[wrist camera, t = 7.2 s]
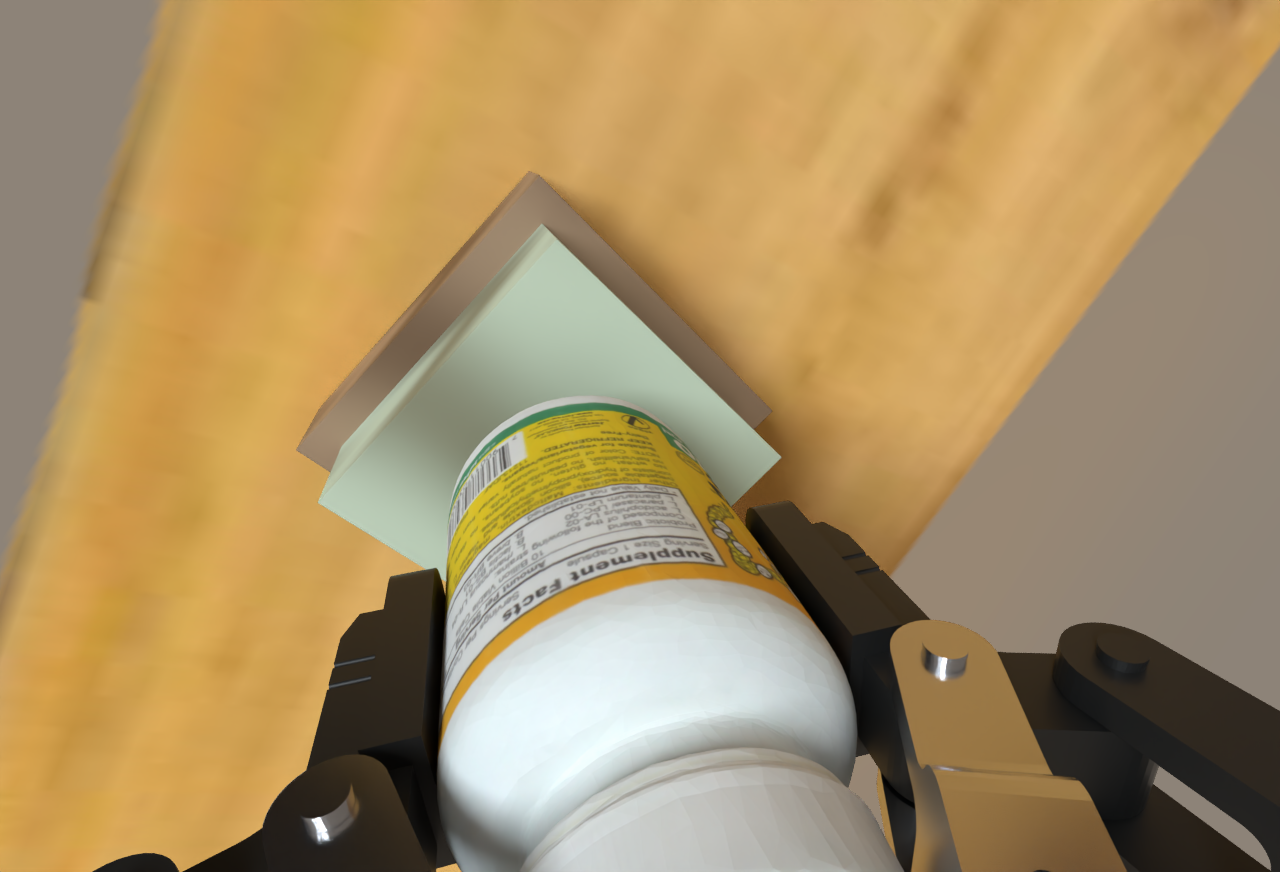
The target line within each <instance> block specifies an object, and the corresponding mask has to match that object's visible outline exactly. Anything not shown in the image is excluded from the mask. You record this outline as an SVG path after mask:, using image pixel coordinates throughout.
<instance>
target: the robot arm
mask: <svg viewBox="0 0 1280 872" xmlns="http://www.w3.org/2000/svg"><path fill="white" fill-rule="evenodd" d="M746 528H747V529H748V530H749V532H750V533H751V535H752V536H753V537H754V539H755V540H756V541H757V543H758V544H759V545H760V547H761V548H762V550H763V551H764V552H765V554H766V555H767V557H768V558H769V559H770V560H771V562H772V563H773V564H774V566H775V567H776V569H777V570H778V572H779V573H780V574H781V575H782V577H783V578H784V580H785V582H786V583H787V584H788V586H789V587H790V589H791V590H792V592H793V593H794V595H795V596H796V597H797V599H798V600H799V601H800V603H801V604H802V606H803V607H804V609H805V610H806V611H807V613H808V614H809V616H810V617H811V619H812V620H813V621H814V623H815V624H816V626H817V627H818V628H819V630H820V631H821V632H822V634H823V635H824V637H825V638H826V640H827V641H828V643H829V644H830V646H831V647H832V649H833V651H834V652H835V654H836V656H837V658H838V659H839V661H840V663H841V665H842V667H843V670H844V672H845V674H846V677H847V679H848V682H849V685H850V688H851V691H852V695H853V699H854V704H855V710H856V717H857V748H856V757H858V756H862V755H866V754H870V755H871V757H872V758H873V760H874V761H875V763H876V765H877V766H878V775H877V792H878V798H879V804H880V809H881V815H882V821H883V827H884V832H885V838H886V840H887V842H888V843H889V845H890V847H891V849H892V851H893V853H894V854H895V856H896V858H897V860H898V861H899V863H900V865H901V867H902V869H903V870H904V872H1280V711H1279V710H1277V709H1275V708H1273V707H1272V706H1270V705H1268V704H1266V703H1265V702H1263V701H1261V700H1259V699H1258V698H1256V697H1254V696H1252V695H1251V694H1249V693H1247V692H1245V691H1243V690H1242V689H1240V688H1238V687H1237V686H1235V685H1233V684H1231V683H1229V682H1228V681H1225V680H1224V679H1222V678H1220V677H1219V676H1217V675H1215V674H1213V673H1212V672H1210V671H1208V670H1207V669H1205V668H1203V667H1201V666H1199V665H1198V664H1196V663H1194V662H1192V661H1191V660H1189V659H1187V658H1185V657H1184V656H1182V655H1180V654H1178V653H1177V652H1175V651H1173V650H1171V649H1170V648H1168V647H1166V646H1164V645H1163V644H1161V643H1159V642H1157V641H1156V640H1154V639H1152V638H1150V637H1148V636H1146V635H1144V634H1141V633H1139V632H1136V631H1134V630H1131V629H1128V628H1125V627H1121V626H1117V625H1113V624H1106V623H1082V624H1077V625H1074V626H1071V627H1069V628H1068V629H1066V630H1065V631H1064V632H1063V633H1062V634H1061V637H1060V639H1059V643H1058V648H1057V652H1056V654H1044V653H1043V654H1042V653H1006V652H996V650H995V649H994V648H993V646H992V645H991V644H990V643H989V642H988V641H987V640H985V639H984V638H983V637H981V636H980V635H979V634H977V633H975V632H973V631H971V630H970V629H968V628H965V627H963V626H960V625H957V624H954V623H950V622H946V621H938V620H930V619H929V618H928V617H927V616H926V615H925V614H924V612H923V611H922V610H921V609H920V608H919V607H918V606H917V605H916V604H915V603H914V602H913V601H912V600H911V599H910V598H909V597H908V596H907V595H906V594H905V593H904V592H903V591H902V590H901V589H900V588H899V587H898V586H897V585H896V584H895V583H894V581H893V580H892V579H891V578H890V577H889V576H888V575H887V574H886V573H885V572H884V571H883V570H881V571H880V569H879V566H878V565H877V564H876V563H875V562H874V561H873V560H872V559H871V558H870V557H869V556H866V555H865V552H864V550H863V549H862V548H861V547H860V546H859V545H858V544H857V543H856V542H855V541H854V540H853V539H852V538H851V537H850V536H849V535H848V534H846V533H844V532H842V531H840V530H838V529H836V528H834V527H832V526H830V525H828V524H826V523H824V522H820V523H815V524H811V523H810V522H809V521H808V519H807V518H806V517H805V516H804V515H803V514H802V513H801V512H800V511H799V509H798V508H797V507H796V506H795V505H794V504H793V503H792V502H790V501H783V502H778V503H773V504H768V505H763V506H757V507H752V508H749V509H748V510H747V513H746ZM444 618H445V592H444V588H443V584H442V580H441V576H440V573H439V571H438V569H437V568H432V569H427V570H421V571H416V572H411V573H406V574H401V575H396V576H391V577H390V579H389V582H388V588H387V593H386V599H385V604H384V609H382V610H377V611H372V612H367V613H362V614H360V615H359V616H358V617H357V618H356V620H355V621H354V622H353V623H352V625H351V626H350V627H349V628H348V630H347V631H346V632H345V633H344V635H343V636H342V637H341V639H340V643H339V646H338V650H337V654H336V658H335V662H334V665H335V668H333V670H332V674H331V677H330V681H329V690H327V693H326V697H325V701H324V704H323V708H322V712H321V716H320V720H319V724H318V728H317V731H316V735H315V739H314V743H313V747H312V751H311V755H310V758H309V762H308V766H307V770H306V771H305V772H303V773H302V774H301V775H299V776H298V777H296V778H295V779H294V780H293V781H292V782H291V783H290V784H288V785H287V786H286V787H285V788H284V790H283V791H282V792H281V793H280V794H279V795H278V796H277V798H276V799H275V801H274V802H273V803H272V805H271V807H270V809H269V810H268V812H267V814H266V817H265V820H264V823H263V828H262V829H260V830H259V831H257V832H256V833H254V834H253V835H251V836H250V837H248V838H246V839H245V840H243V841H241V842H239V843H238V844H236V845H234V846H232V847H230V848H228V849H226V850H224V851H222V852H220V853H218V854H216V855H214V856H212V857H210V858H208V859H206V860H205V861H203V862H201V863H199V864H197V865H195V866H193V867H191V868H189V869H187V870H185V871H183V872H436V868H440V867H444V866H447V865H451V864H455V863H456V861H455V859H454V857H453V855H452V853H451V851H450V849H449V846H448V844H447V842H446V838H445V835H444V832H443V829H442V825H441V820H440V814H439V807H438V801H437V751H438V727H439V708H440V688H441V671H442V655H443V634H444ZM1159 766H1160V767H1162V768H1163V769H1165V770H1166V771H1167V772H1169V773H1170V774H1171V775H1173V776H1174V777H1176V778H1177V779H1178V780H1180V781H1181V782H1183V783H1184V784H1185V785H1187V786H1188V787H1190V788H1191V789H1192V790H1194V791H1195V792H1197V793H1198V794H1200V795H1201V796H1202V797H1204V798H1205V799H1206V800H1208V801H1209V802H1211V803H1212V804H1214V805H1215V806H1217V807H1218V808H1219V809H1220V810H1222V811H1223V812H1225V813H1226V814H1228V815H1229V816H1230V817H1232V818H1233V819H1235V820H1236V821H1237V822H1239V823H1240V824H1242V825H1243V826H1244V827H1245V828H1246V829H1248V830H1249V831H1250V832H1251V833H1252V834H1253V835H1254V836H1255V837H1256V838H1257V840H1258V841H1259V842H1260V843H1261V845H1262V846H1263V848H1264V849H1265V851H1266V853H1267V855H1268V857H1269V859H1270V863H1271V871H1270V870H1269V869H1267V868H1266V867H1264V866H1263V865H1262V864H1260V863H1259V862H1258V861H1256V860H1255V859H1254V858H1252V857H1251V856H1249V855H1248V854H1247V853H1245V852H1244V851H1243V850H1241V849H1240V848H1239V847H1237V846H1236V845H1235V844H1233V843H1232V842H1231V841H1229V840H1228V839H1227V838H1225V837H1224V836H1222V835H1221V834H1220V833H1218V832H1217V831H1216V830H1214V829H1213V828H1212V827H1210V826H1209V825H1207V824H1206V823H1205V822H1203V821H1202V820H1201V819H1199V818H1198V817H1197V816H1195V815H1194V814H1193V813H1191V812H1190V811H1189V810H1187V809H1186V808H1185V807H1183V806H1182V805H1180V804H1179V803H1178V802H1177V801H1175V800H1174V799H1173V798H1171V797H1170V796H1168V795H1167V794H1166V793H1164V792H1163V791H1162V790H1160V789H1159V788H1158V787H1156V786H1155V785H1154V784H1153V782H1154V779H1155V776H1156V773H1157V770H1158V768H1159ZM93 872H179V870H178V868H177V867H176V865H175V864H174V863H173V862H172V861H171V859H169V858H167V857H165V856H163V855H160V854H155V853H142V854H136V855H131V856H128V857H124V858H121V859H118V860H116V861H113V862H111V863H108V864H106V865H104V866H102V867H100V868H98V869H97V870H95V871H93Z"/></svg>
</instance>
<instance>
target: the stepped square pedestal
mask: <svg viewBox="0 0 1280 872" xmlns="http://www.w3.org/2000/svg"><path fill="white" fill-rule="evenodd" d="M589 395H593V396H607V397H612V398H617V399H621V400H624V401H627V402H630V403H632V404H634V405H637V406H639V407H641V408H643V409H645V410H647V411H648V412H650V413H651V414H653V415H654V416H656V417H657V418H658V419H660V420H661V421H662V422H663V423H665V424H666V425H667V426H668V427H669V428H670V429H671V430H672V431H673V432H674V433H675V434H676V435H678V436H679V437H680V438H681V439H682V440H683V441H684V443H685V444H686V445H687V447H688V448H689V449H690V451H691V452H692V453H693V454H694V455H695V457H696V458H697V459H698V461H699V462H700V463H701V465H702V466H703V468H704V469H705V471H706V472H707V473H708V474H709V476H710V477H711V479H712V480H713V482H714V483H715V485H716V486H717V487H718V489H719V490H720V492H721V493H722V495H723V496H724V498H725V499H726V500H727V502H728V503H729V505H730V506H732V505H733V504H734V503H735V502H736V501H738V500H739V499H740V498H741V497H742V496H743V495H744V494H745V493H746V492H747V491H748V490H749V489H750V488H751V487H752V486H753V485H754V484H755V483H756V482H757V481H758V480H759V479H760V478H761V477H762V476H763V475H764V474H765V473H766V472H767V471H768V470H769V469H770V468H771V467H772V466H773V465H774V464H775V463H776V462H777V461H778V460H779V459H780V458H781V456H780V455H779V454H778V453H777V452H776V451H775V450H774V449H773V448H772V447H771V446H770V445H769V444H768V443H767V442H766V441H765V440H764V439H763V438H762V437H761V436H760V435H759V434H758V433H757V432H756V431H755V430H754V429H755V428H756V427H757V426H758V425H759V424H760V423H761V422H762V421H763V420H764V419H765V418H766V417H767V416H768V415H769V414H770V413H771V412H772V410H771V409H770V408H769V407H768V406H767V405H766V404H765V403H764V402H763V401H762V400H761V399H760V398H759V397H758V396H757V395H756V394H755V393H754V392H753V391H752V390H751V389H750V388H749V387H748V386H747V385H746V384H745V383H744V382H743V381H742V380H741V379H740V378H739V377H738V376H737V375H736V374H735V373H734V372H733V371H732V370H731V369H730V368H729V366H728V365H727V364H726V363H725V362H724V361H723V360H722V359H721V358H720V357H719V356H718V355H717V354H716V353H715V352H714V351H713V350H712V349H711V348H710V347H709V346H708V345H707V344H706V343H705V342H704V341H703V340H702V339H701V338H700V337H699V336H698V335H697V334H696V333H695V332H694V331H693V330H692V329H691V328H690V327H689V326H688V325H687V324H686V323H685V322H684V321H683V320H682V319H681V318H680V317H679V316H678V315H677V314H676V313H675V312H674V311H673V310H672V309H671V308H670V307H669V306H668V305H667V304H666V303H665V302H664V301H663V300H662V299H661V298H660V297H659V296H658V295H657V294H656V293H655V292H654V291H653V290H652V289H651V288H650V287H649V286H648V285H647V284H646V283H645V282H644V281H643V280H642V279H641V278H640V277H639V276H638V275H637V274H636V273H635V271H634V270H633V269H632V268H631V267H630V266H629V265H628V264H627V263H626V262H625V261H624V260H623V259H622V258H621V257H620V256H619V255H618V254H617V253H616V252H615V251H614V250H613V249H612V248H611V247H610V246H609V245H608V244H607V243H606V242H605V241H604V240H603V239H602V238H601V237H600V236H599V235H598V234H597V233H596V232H595V231H594V230H593V229H592V228H591V227H590V226H589V225H588V224H587V223H586V222H585V221H584V220H583V219H582V218H581V217H580V216H579V215H578V214H577V213H576V212H575V211H574V210H573V209H572V208H571V207H570V206H569V205H568V204H567V203H566V202H565V201H564V200H563V199H562V198H561V197H560V196H559V195H558V194H557V193H556V192H555V191H554V190H553V189H552V188H551V187H550V186H549V185H548V184H547V183H546V182H545V181H544V180H543V179H542V178H541V177H540V176H539V175H537V174H535V173H532V172H530V171H529V172H528V173H527V174H526V175H525V176H524V178H523V179H522V180H521V181H520V182H519V183H518V184H517V185H516V187H515V188H514V189H513V190H512V191H511V192H510V193H509V195H508V196H507V197H506V198H505V199H504V200H503V201H502V202H501V204H500V205H499V206H498V207H497V208H496V209H495V210H494V211H493V213H492V214H491V215H490V216H489V217H488V218H487V219H486V221H485V222H484V223H483V224H482V225H481V226H480V227H479V228H478V230H477V231H476V232H475V233H474V234H473V235H472V236H471V238H470V239H469V240H468V241H467V242H466V243H465V244H464V245H463V247H462V248H461V249H460V250H459V251H458V252H457V253H456V254H455V256H454V257H453V258H452V259H451V260H450V261H449V262H448V264H447V265H446V266H445V267H444V268H443V269H442V270H441V271H440V273H439V274H438V275H437V276H436V277H435V278H434V279H433V281H432V282H431V283H430V284H429V285H428V286H427V287H426V288H425V290H424V291H423V292H422V293H421V294H420V295H419V296H418V297H417V299H416V300H415V301H414V302H413V303H412V304H411V305H410V307H409V308H408V309H407V310H406V311H405V312H404V313H403V314H402V316H401V317H400V318H399V319H398V320H397V321H396V322H395V324H394V325H393V326H392V327H391V328H390V329H389V330H388V331H387V333H386V334H385V335H384V336H383V337H382V338H381V339H380V340H379V342H378V343H377V344H376V345H375V346H374V347H373V348H372V350H371V351H370V352H369V353H368V354H367V355H366V356H365V357H364V359H363V360H362V361H361V362H360V363H359V364H358V365H357V367H356V368H355V369H354V370H353V371H352V372H351V373H350V374H349V376H348V377H347V378H346V379H345V380H344V381H343V382H342V383H341V385H340V386H339V387H338V388H337V389H336V390H335V391H334V393H333V394H332V395H331V396H330V397H329V398H328V399H327V400H326V402H325V403H324V404H323V405H322V406H321V407H320V409H319V410H318V412H317V414H316V416H315V417H314V419H313V421H312V423H311V424H310V426H309V428H308V430H307V432H306V433H305V435H304V437H303V439H302V440H301V442H300V444H299V446H298V448H297V449H296V450H297V451H298V452H300V453H301V454H303V455H304V456H306V457H308V458H309V459H311V460H312V461H314V462H315V463H317V464H318V465H320V466H322V467H323V468H325V469H326V470H328V471H329V472H331V473H330V475H329V477H328V480H327V482H326V484H325V487H324V489H323V492H322V494H321V496H320V499H319V501H318V503H319V504H321V505H322V506H324V507H326V508H327V509H329V510H330V511H332V512H334V513H335V514H337V515H339V516H340V517H342V518H343V519H345V520H347V521H348V522H350V523H352V524H353V525H355V526H356V527H358V528H360V529H361V530H363V531H365V532H366V533H368V534H369V535H371V536H373V537H374V538H376V539H378V540H379V541H381V542H382V543H384V544H386V545H387V546H389V547H390V548H392V549H394V550H395V551H397V552H399V553H400V554H402V555H403V556H405V557H407V558H408V559H410V560H412V561H413V562H415V563H416V564H418V565H420V566H421V567H423V568H425V569H426V570H427V569H432V568H437V569H438V571H439V573H440V576H441V579H442V580H444V581H446V559H447V528H448V519H449V510H450V504H451V499H452V494H453V490H454V488H455V485H456V482H457V479H458V477H459V475H460V473H461V471H462V469H463V467H464V465H465V463H466V461H467V460H468V458H469V457H470V455H471V454H472V453H473V451H474V450H475V449H476V447H477V446H478V445H479V444H480V442H481V441H482V440H483V439H484V438H485V437H486V436H487V435H488V434H489V433H491V432H492V431H493V430H494V429H495V428H497V427H498V426H499V425H500V424H501V423H503V422H505V421H506V420H508V419H509V418H511V417H512V416H514V415H516V414H517V413H519V412H521V411H523V410H525V409H527V408H529V407H532V406H534V405H537V404H540V403H543V402H546V401H550V400H554V399H559V398H564V397H571V396H589Z"/></svg>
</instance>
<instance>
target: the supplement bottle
mask: <svg viewBox="0 0 1280 872" xmlns="http://www.w3.org/2000/svg"><path fill="white" fill-rule="evenodd" d="M856 748H857V717H856V710H855V704H854V699H853V695H852V691H851V688H850V685H849V682H848V679H847V677H846V674H845V672H844V670H843V667H842V665H841V663H840V661H839V659H838V658H837V656H836V654H835V652H834V651H833V649H832V647H831V646H830V644H829V643H828V641H827V640H826V638H825V637H824V635H823V634H822V632H821V631H820V630H819V628H818V627H817V626H816V624H815V623H814V621H813V620H812V619H811V617H810V616H809V614H808V613H807V611H806V610H805V609H804V607H803V606H802V604H801V603H800V601H799V600H798V599H797V597H796V596H795V595H794V593H793V592H792V590H791V589H790V587H789V586H788V584H787V583H786V582H785V580H784V578H783V577H782V575H781V574H780V573H779V572H778V570H777V569H776V567H775V566H774V564H773V563H772V562H771V560H770V559H769V558H768V557H767V555H766V554H765V552H764V551H763V550H762V548H761V547H760V545H759V544H758V543H757V541H756V540H755V539H754V537H753V536H752V535H751V533H750V532H749V530H748V529H747V528H746V526H745V525H744V524H743V522H742V521H741V520H740V518H739V517H738V516H737V514H736V513H735V512H734V510H733V509H732V508H731V506H730V505H729V503H728V502H727V500H726V499H725V498H724V496H723V495H722V493H721V492H720V490H719V489H718V487H717V486H716V485H715V483H714V482H713V480H712V479H711V477H710V476H709V474H708V473H707V472H706V471H705V469H704V468H703V466H702V465H701V463H700V462H699V461H698V459H697V458H696V457H695V455H694V454H693V453H692V452H691V451H690V449H689V448H688V447H687V445H686V444H685V443H684V441H683V440H682V439H681V438H680V437H679V436H678V435H676V434H675V433H674V432H673V431H672V430H671V429H670V428H669V427H668V426H667V425H666V424H665V423H663V422H662V421H661V420H660V419H658V418H657V417H656V416H654V415H653V414H651V413H650V412H648V411H647V410H645V409H643V408H641V407H639V406H637V405H634V404H632V403H630V402H627V401H624V400H621V399H617V398H612V397H607V396H593V395H589V396H571V397H564V398H559V399H554V400H550V401H546V402H543V403H540V404H537V405H534V406H532V407H529V408H527V409H525V410H523V411H521V412H519V413H517V414H516V415H514V416H512V417H511V418H509V419H508V420H506V421H505V422H503V423H501V424H500V425H499V426H498V427H497V428H495V429H494V430H493V431H492V432H491V433H489V434H488V435H487V436H486V437H485V438H484V439H483V440H482V441H481V442H480V444H479V445H478V446H477V447H476V449H475V450H474V451H473V453H472V454H471V455H470V457H469V458H468V460H467V461H466V463H465V465H464V467H463V469H462V471H461V473H460V475H459V477H458V479H457V482H456V485H455V488H454V490H453V494H452V499H451V504H450V510H449V519H448V528H447V559H446V594H445V618H444V634H443V655H442V671H441V688H440V708H439V727H438V751H437V801H438V807H439V814H440V820H441V825H442V829H443V832H444V835H445V838H446V842H447V844H448V846H449V849H450V851H451V853H452V855H453V857H454V859H455V861H456V863H457V865H458V867H459V868H460V870H461V871H462V872H904V870H903V869H902V867H901V865H900V863H899V861H898V860H897V858H896V856H895V854H894V853H893V851H892V849H891V847H890V845H889V843H888V842H887V840H886V838H885V836H884V834H883V832H882V830H881V829H880V827H879V824H878V822H877V821H876V819H875V817H874V816H873V814H872V812H871V810H870V809H869V808H868V806H867V805H866V804H865V802H864V801H863V800H862V799H861V798H860V797H859V796H858V795H856V794H855V793H854V792H852V791H851V790H850V789H849V788H848V787H849V783H850V780H851V776H852V772H853V768H854V764H855V757H856Z"/></svg>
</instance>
